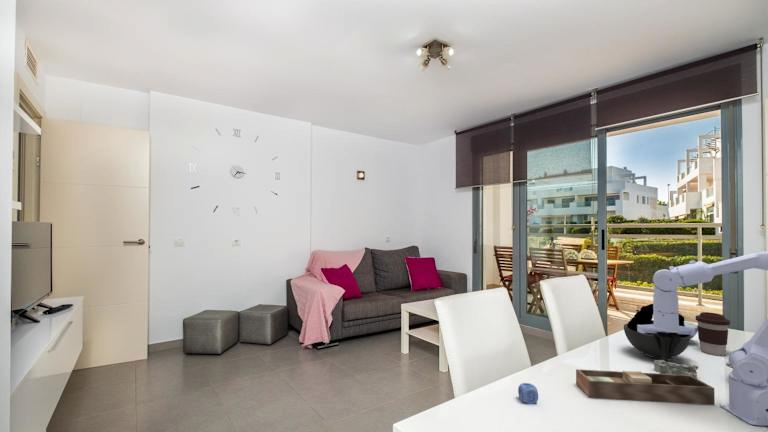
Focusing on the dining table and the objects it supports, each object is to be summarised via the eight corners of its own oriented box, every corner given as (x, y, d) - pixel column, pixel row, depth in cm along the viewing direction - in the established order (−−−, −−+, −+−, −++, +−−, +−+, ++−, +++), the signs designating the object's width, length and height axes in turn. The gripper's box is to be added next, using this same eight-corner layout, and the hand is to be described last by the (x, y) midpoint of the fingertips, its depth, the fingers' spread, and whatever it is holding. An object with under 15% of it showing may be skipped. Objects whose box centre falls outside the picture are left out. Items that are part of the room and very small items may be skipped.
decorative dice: (532, 397, 100) (532, 382, 100) (538, 404, 96) (538, 389, 96) (518, 397, 100) (518, 382, 100) (523, 404, 96) (523, 389, 96)
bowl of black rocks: (678, 371, 119) (678, 315, 120) (614, 353, 136) (613, 304, 137) (699, 360, 130) (698, 308, 131) (637, 344, 147) (636, 299, 148)
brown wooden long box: (690, 390, 106) (690, 375, 106) (714, 404, 97) (714, 388, 97) (576, 384, 108) (576, 369, 109) (589, 397, 100) (589, 381, 100)
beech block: (651, 387, 100) (651, 378, 100) (633, 386, 101) (632, 377, 101) (640, 380, 105) (640, 371, 105) (622, 379, 106) (622, 370, 106)
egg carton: (700, 379, 114) (700, 366, 114) (687, 383, 111) (687, 370, 111) (663, 367, 124) (663, 355, 124) (650, 370, 121) (650, 358, 121)
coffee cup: (728, 359, 132) (727, 318, 132) (693, 351, 140) (693, 313, 140) (732, 353, 138) (731, 314, 139) (698, 346, 146) (698, 310, 146)
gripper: (682, 309, 106) (682, 355, 106) (630, 307, 107) (631, 352, 107) (701, 315, 99) (701, 364, 99) (645, 312, 100) (646, 361, 100)
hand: (666, 358), depth 102 cm, fingers closed
